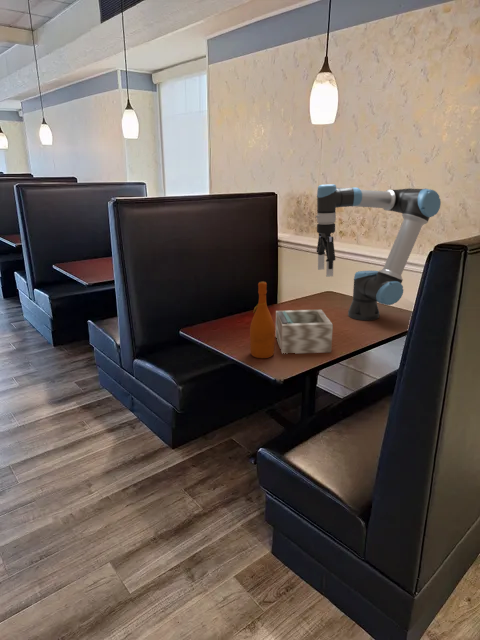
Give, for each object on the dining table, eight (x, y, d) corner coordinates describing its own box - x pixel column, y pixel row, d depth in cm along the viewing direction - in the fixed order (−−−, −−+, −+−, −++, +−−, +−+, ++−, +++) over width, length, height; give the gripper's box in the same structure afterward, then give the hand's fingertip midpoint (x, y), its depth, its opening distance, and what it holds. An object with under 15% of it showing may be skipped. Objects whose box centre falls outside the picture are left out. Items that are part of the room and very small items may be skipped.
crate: (319, 335, 194) (321, 308, 190) (331, 352, 175) (332, 323, 171) (275, 336, 193) (275, 309, 189) (282, 353, 174) (282, 324, 170)
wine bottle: (271, 349, 179) (272, 278, 169) (277, 358, 170) (277, 284, 160) (248, 350, 178) (247, 279, 168) (252, 360, 168) (251, 285, 159)
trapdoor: (300, 336, 190) (302, 335, 190) (307, 348, 177) (309, 347, 177) (282, 312, 186) (284, 310, 186) (287, 322, 173) (290, 321, 173)
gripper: (310, 220, 192) (309, 267, 199) (325, 227, 169) (324, 280, 176) (326, 219, 193) (325, 266, 200) (344, 226, 169) (342, 278, 176)
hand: (325, 272), depth 188 cm, fingers open, 13 cm apart
